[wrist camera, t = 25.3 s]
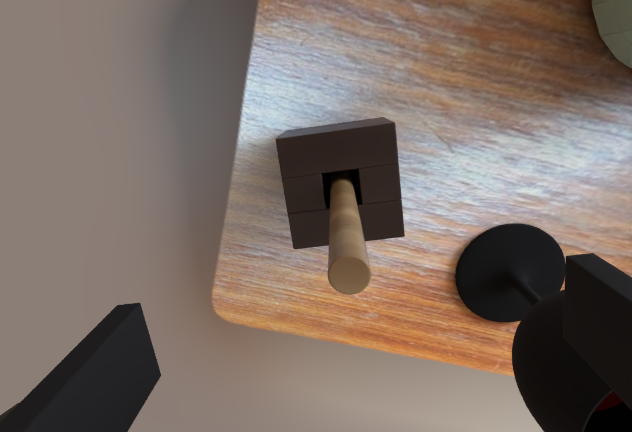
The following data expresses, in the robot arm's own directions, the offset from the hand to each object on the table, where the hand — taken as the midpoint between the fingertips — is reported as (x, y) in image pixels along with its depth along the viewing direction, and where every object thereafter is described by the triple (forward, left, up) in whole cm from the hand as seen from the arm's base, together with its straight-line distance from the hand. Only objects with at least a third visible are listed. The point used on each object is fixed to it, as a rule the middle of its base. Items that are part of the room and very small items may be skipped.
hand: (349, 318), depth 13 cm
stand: (0, 0, -26) cm, 26 cm away
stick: (+1, 0, -26) cm, 26 cm away
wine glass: (+12, +15, -27) cm, 33 cm away
